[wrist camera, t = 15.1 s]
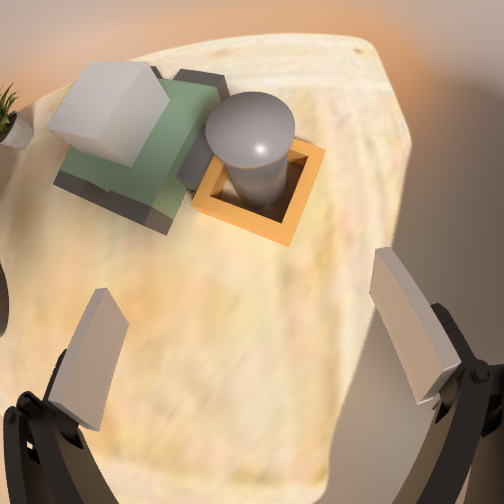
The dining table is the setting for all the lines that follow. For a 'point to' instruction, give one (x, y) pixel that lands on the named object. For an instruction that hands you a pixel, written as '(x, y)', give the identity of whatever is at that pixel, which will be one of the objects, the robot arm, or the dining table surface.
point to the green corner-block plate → (158, 148)
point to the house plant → (13, 126)
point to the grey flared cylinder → (253, 144)
